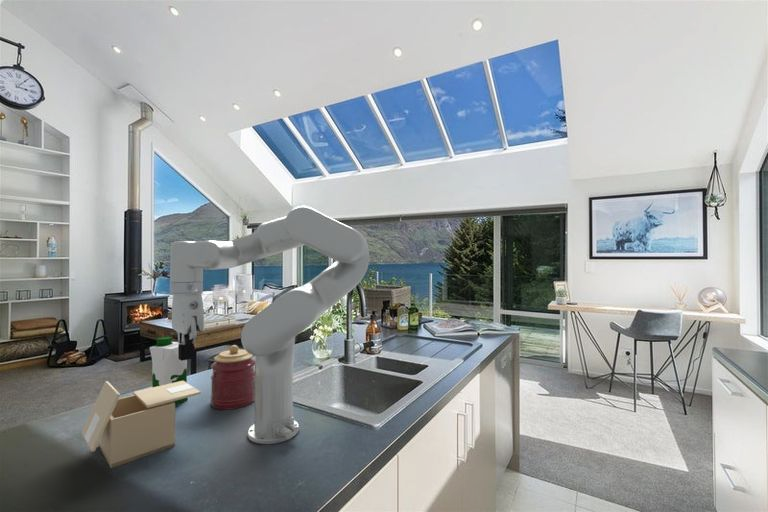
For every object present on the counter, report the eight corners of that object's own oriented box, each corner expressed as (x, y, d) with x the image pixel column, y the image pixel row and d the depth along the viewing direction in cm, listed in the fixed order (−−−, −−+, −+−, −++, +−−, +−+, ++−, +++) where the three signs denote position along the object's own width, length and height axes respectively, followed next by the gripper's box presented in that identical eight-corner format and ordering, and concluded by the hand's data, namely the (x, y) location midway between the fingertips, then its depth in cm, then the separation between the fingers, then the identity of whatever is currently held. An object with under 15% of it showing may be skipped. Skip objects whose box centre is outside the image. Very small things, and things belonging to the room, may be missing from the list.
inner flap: (200, 394, 92) (200, 391, 92) (147, 407, 83) (147, 404, 83) (183, 382, 100) (183, 380, 100) (133, 394, 92) (133, 391, 92)
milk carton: (168, 396, 118) (168, 334, 118) (192, 398, 116) (193, 336, 116) (145, 407, 109) (146, 340, 109) (171, 410, 107) (172, 342, 107)
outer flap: (120, 394, 80) (116, 394, 79) (94, 451, 76) (90, 451, 76) (108, 381, 88) (104, 381, 87) (84, 432, 85) (80, 432, 84)
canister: (238, 412, 106) (238, 352, 106) (200, 407, 110) (201, 348, 110) (263, 396, 119) (264, 341, 119) (229, 392, 122) (230, 339, 122)
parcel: (174, 446, 87) (175, 403, 87) (111, 468, 78) (111, 420, 78) (157, 428, 96) (157, 389, 96) (98, 446, 87) (98, 403, 87)
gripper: (213, 289, 93) (212, 361, 93) (191, 286, 103) (190, 351, 103) (181, 291, 87) (180, 368, 87) (161, 287, 97) (160, 356, 97)
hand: (186, 358), depth 95 cm, fingers closed
